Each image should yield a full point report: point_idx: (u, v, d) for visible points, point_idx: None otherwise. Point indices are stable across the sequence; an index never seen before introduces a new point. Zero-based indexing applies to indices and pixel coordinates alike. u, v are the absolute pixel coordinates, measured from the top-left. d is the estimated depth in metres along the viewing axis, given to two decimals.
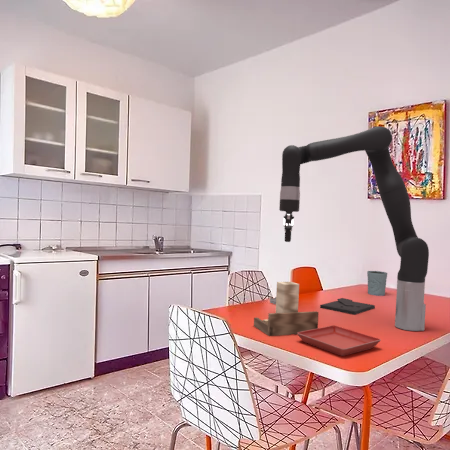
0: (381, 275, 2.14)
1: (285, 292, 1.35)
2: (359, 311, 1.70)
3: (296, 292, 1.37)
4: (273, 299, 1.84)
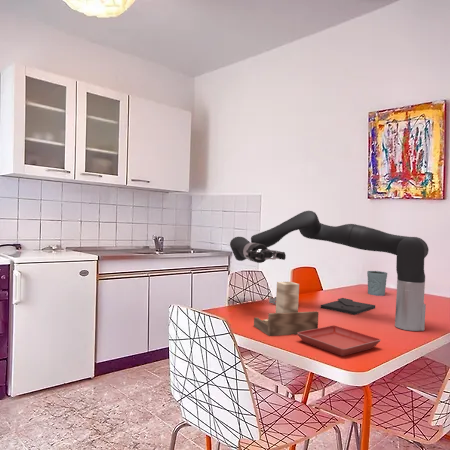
0: (381, 275, 2.14)
1: (285, 292, 1.35)
2: (360, 311, 1.70)
3: (296, 292, 1.37)
4: (272, 299, 1.85)
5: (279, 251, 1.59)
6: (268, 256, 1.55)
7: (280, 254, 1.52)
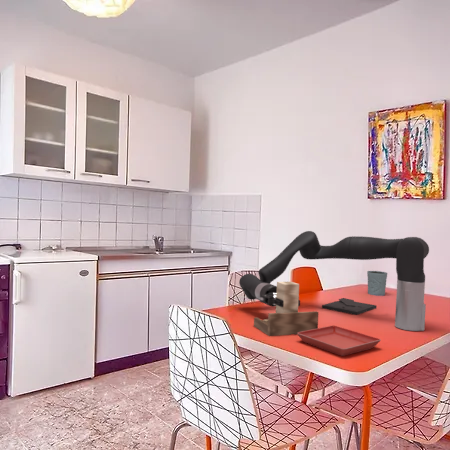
0: (381, 275, 2.13)
1: (285, 292, 1.35)
2: (361, 311, 1.70)
3: (296, 292, 1.37)
4: None
5: None
6: None
7: None
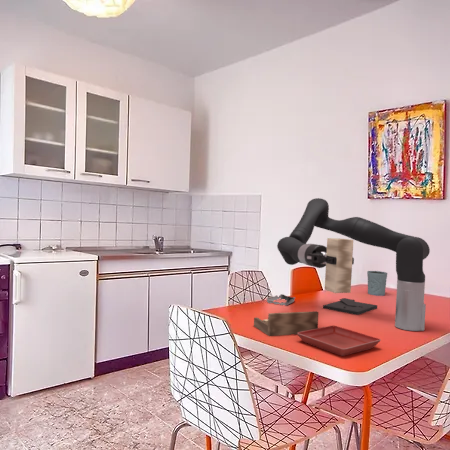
0: (381, 275, 2.14)
1: (339, 247, 1.21)
2: (362, 311, 1.70)
3: (350, 248, 1.23)
4: (270, 298, 1.85)
5: None
6: None
7: None
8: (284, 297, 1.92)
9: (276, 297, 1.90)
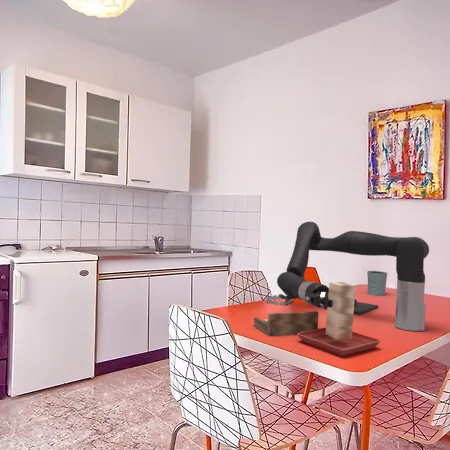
0: (381, 275, 2.14)
1: (341, 293, 1.20)
2: (363, 311, 1.70)
3: (352, 294, 1.22)
4: (269, 298, 1.86)
5: None
6: None
7: None
8: (283, 297, 1.92)
9: (275, 297, 1.90)
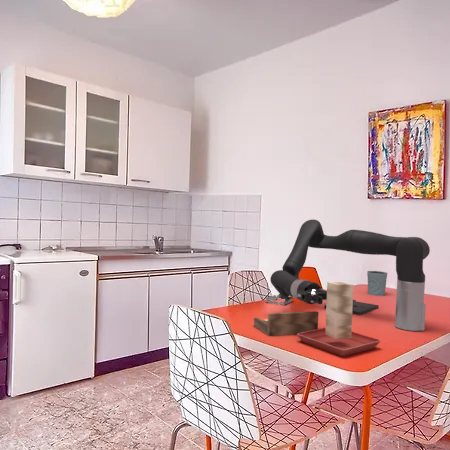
0: (381, 275, 2.14)
1: (338, 293, 1.21)
2: (364, 311, 1.70)
3: (350, 293, 1.22)
4: (268, 298, 1.86)
5: None
6: (324, 298, 1.33)
7: None
8: (282, 297, 1.92)
9: (274, 297, 1.90)
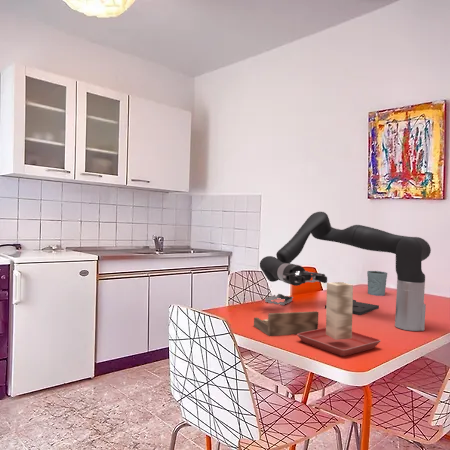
0: (381, 275, 2.14)
1: (338, 294, 1.20)
2: (364, 312, 1.70)
3: (350, 294, 1.22)
4: (268, 298, 1.86)
5: (318, 273, 1.48)
6: (307, 279, 1.43)
7: (321, 277, 1.41)
8: (282, 297, 1.92)
9: (274, 297, 1.90)
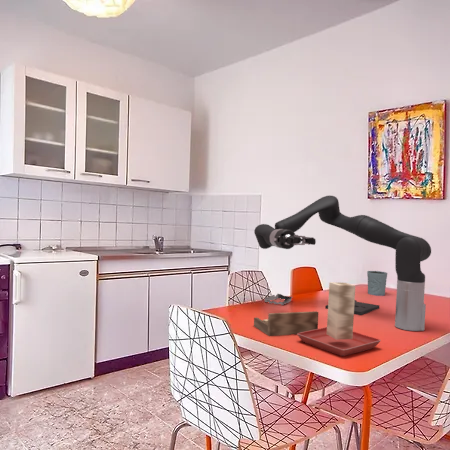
0: (381, 275, 2.14)
1: (340, 293, 1.20)
2: (365, 311, 1.70)
3: (352, 294, 1.21)
4: (267, 298, 1.86)
5: (307, 237, 1.56)
6: (297, 241, 1.52)
7: (310, 239, 1.49)
8: (281, 296, 1.93)
9: (273, 296, 1.91)
